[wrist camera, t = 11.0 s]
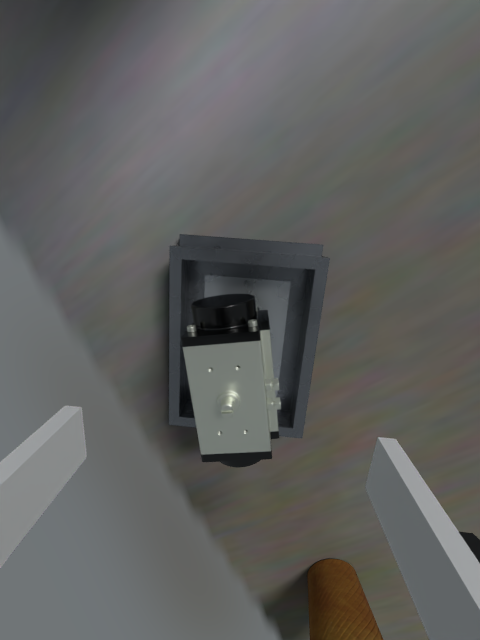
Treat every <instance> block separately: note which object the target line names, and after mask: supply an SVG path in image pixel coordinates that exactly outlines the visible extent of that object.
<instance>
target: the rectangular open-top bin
mask: <svg viewBox="0 0 480 640" xmlns="http://www.w3.org/2000/svg"><path fill="white" fill-rule="evenodd" d="M322 251H323V245H319V244H306V243H292V242H279V241H265V240H251V239H238V238H224V237H211V236H197V235H184V234H180V246H170V288H169V425H177V426H187V427H196V422H195V416H194V411H193V405H192V399H191V393H190V387H189V381H188V376H187V370H186V364H185V358H184V352H183V347H182V341H181V337H182V335H183V334H184V333H185V332H186V330H187V326H189V325H191V324H192V323H193V316H192V310H191V304H192V303H193V302H195V301H197V300H199V299H203V298H207V297H211V296H217V295H225V294H250V295H253V296H254V297H255V301H256V306H257V307H259V308H260V310H268V316H269V325H270V336H271V348H272V359H273V371H274V378H278V380H279V390H275V394H276V397H280V403H281V409H278V410H277V417H278V429H279V436H284V437H294V438H302V436H303V429H304V423H305V416H306V410H307V403H308V397H309V390H310V384H311V377H312V371H313V364H314V358H315V351H316V344H317V338H318V331H319V325H320V318H321V312H322V305H323V299H324V292H325V286H326V279H327V273H328V266H329V260H330V258H328V257H323V256H322Z"/></svg>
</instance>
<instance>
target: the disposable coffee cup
mask: <svg viewBox="0 0 480 640" xmlns="http://www.w3.org/2000/svg"><path fill="white" fill-rule="evenodd" d="M307 577H308V602H309V628H310V640H383V638H382V635H381V633H380V630H379V628H378V626H377V623H376V621H375V618H374V616H373V613H372V611H371V609H370V606H369V604H368V601H367V599H366V596H365V594H364V592H363V589H362V587H361V584H360V582H359V579H358V577H357V574H356V572H355V570H354V568H353V567H352V566H351V565H350V564H348V563H347V562H344V561H342V560H338V559H326V560H321V561H319V562H317V563H315V564H314V565H313V566H312V567H311V568H310V569H309V571H308V576H307Z"/></svg>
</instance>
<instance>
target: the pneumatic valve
mask: <svg viewBox="0 0 480 640" xmlns="http://www.w3.org/2000/svg"><path fill="white" fill-rule="evenodd" d="M191 310H192V316H193V323H192V324H191V325H189V326H187V330H186V332H185V333H184V334H183V335H182V337H181V341H182V347H183V352H184V358H185V364H186V370H187V376H188V381H189V387H190V393H191V399H192V405H193V411H194V416H195V422H196V428H197V434H198V440H199V445H200V451H201V457H202V462H216V461H220V462H221V463H223V464H225V465H227V466H231V467H246V466H250V465H253V464H255V463H257V462H259V461H260V460H261V459H272V450H271V439H276V438H279V429H278V417H277V410H278V409H281V403H280V397H276V394H275V390H279V380H278V378H274V371H273V359H272V348H271V336H270V325H269V316H268V310H260V308H259V307H257V306H256V301H255V297H254V296H253V295H250V294H225V295H217V296H211V297H207V298H203V299H199V300H197V301H195V302H193V303H192V304H191Z"/></svg>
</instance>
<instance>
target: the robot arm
mask: <svg viewBox="0 0 480 640" xmlns="http://www.w3.org/2000/svg"><path fill="white" fill-rule="evenodd" d="M86 458H87V453H86V444H85V434H84V425H83V415H82V408H81V407H74V406H64V407H63V408H62V409H61V410H60V411H58V412H57V413H56V414H55V415H54V416H53V417H52V418H50V419H49V420H48V421H47V422H46V423H45V424H44V425H42V426H41V427H40V428H39V429H38V430H37V431H35V432H34V433H33V434H32V435H31V436H30V437H29V438H27V439H26V440H25V441H24V442H23V443H22V444H21V445H19V446H18V447H17V448H16V449H15V450H14V451H13V452H11V453H10V454H9V455H8V456H7V457H6V458H5V459H3V460H2V461H1V462H0V568H1V567H2V565H3V564H4V563H5V562H6V560H7V559H8V558H9V556H10V555H11V554H12V553H13V551H14V550H15V549H16V547H17V546H18V545H19V544H20V542H21V541H22V539H23V538H24V537H25V536H26V535H27V533H28V532H29V531H30V529H31V528H32V527H33V526H34V524H35V523H36V522H37V520H38V519H39V518H40V517H41V515H42V514H43V513H44V511H45V510H46V509H47V508H48V506H49V505H50V504H51V503H52V501H53V500H54V499H55V497H56V496H57V495H58V494H59V492H60V491H61V490H62V488H63V487H64V486H65V484H66V483H67V482H68V481H69V480H70V478H71V477H72V476H73V474H74V473H75V472H76V471H77V469H78V468H79V467H80V465H81V464H82V463H83V462H84V460H85V459H86ZM365 488H366V491H367V493H368V495H369V498H370V500H371V503H372V505H373V507H374V510H375V512H376V514H377V517H378V519H379V521H380V524H381V526H382V529H383V531H384V533H385V536H386V538H387V540H388V543H389V545H390V547H391V550H392V552H393V555H394V557H395V559H396V562H397V564H398V566H399V569H400V571H401V574H402V576H403V578H404V581H405V583H406V585H407V588H408V590H409V592H410V595H411V597H412V600H413V602H414V604H415V607H416V609H417V611H418V614H419V616H420V618H421V621H422V623H423V626H424V628H425V630H426V633H427V635H428V637H429V640H480V540H479V539H478V538H477V537H476V536H475V535H474V534H473V533H465V532H458V530H457V529H456V527H455V526H454V524H453V523H452V521H451V520H450V518H449V517H448V516H447V514H446V513H445V511H444V510H443V508H442V507H441V505H440V504H439V502H438V501H437V499H436V498H435V496H434V495H433V493H432V492H431V490H430V489H429V487H428V486H427V484H426V483H425V481H424V480H423V479H422V477H421V476H420V474H419V473H418V471H417V470H416V468H415V467H414V465H413V464H412V462H411V461H410V459H409V458H408V456H407V455H406V453H405V452H404V450H403V449H402V447H401V446H400V444H399V443H398V441H397V440H396V439H391V438H381V437H378V438H377V442H376V446H375V450H374V454H373V458H372V462H371V466H370V470H369V474H368V478H367V482H366V486H365Z"/></svg>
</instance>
